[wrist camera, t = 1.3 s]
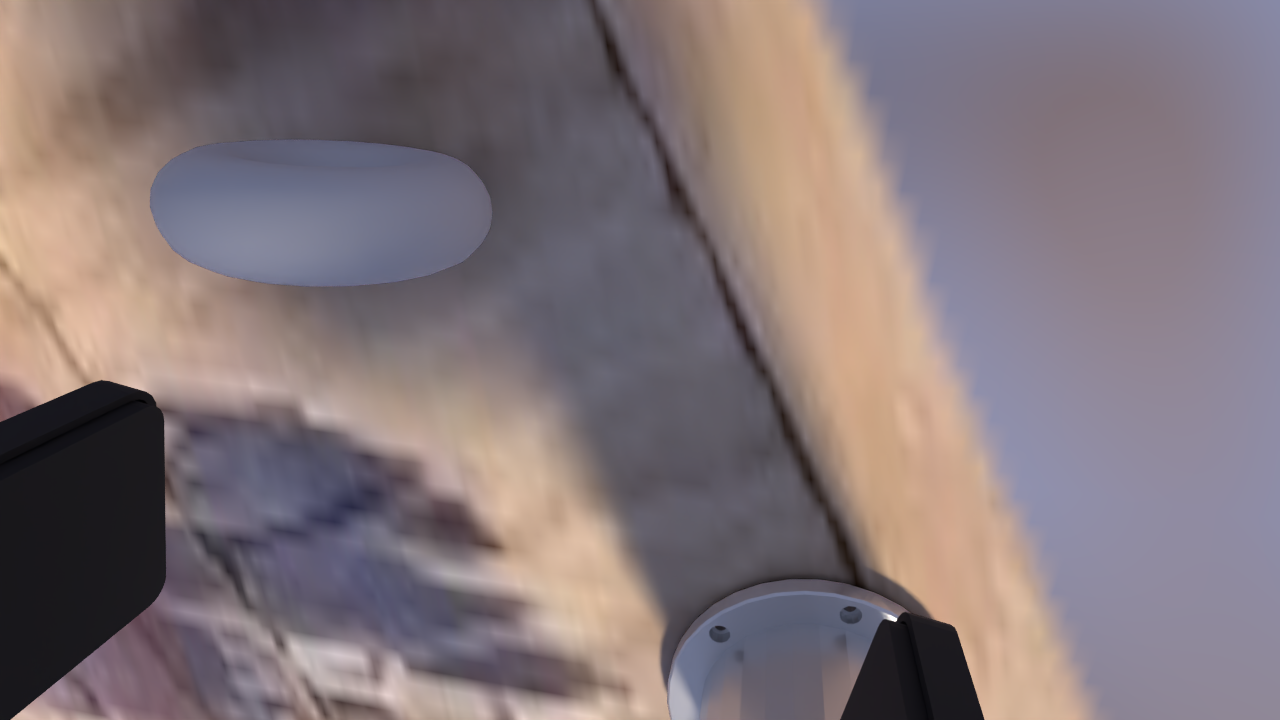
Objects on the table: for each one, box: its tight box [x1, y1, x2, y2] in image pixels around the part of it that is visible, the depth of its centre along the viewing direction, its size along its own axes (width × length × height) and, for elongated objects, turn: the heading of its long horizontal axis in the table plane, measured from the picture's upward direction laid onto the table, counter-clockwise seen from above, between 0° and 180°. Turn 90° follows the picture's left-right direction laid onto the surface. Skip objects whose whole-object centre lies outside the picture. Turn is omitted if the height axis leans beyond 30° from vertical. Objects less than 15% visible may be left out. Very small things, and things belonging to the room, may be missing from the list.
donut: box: [150, 139, 493, 287], centre depth 25 cm, size 10×4×10 cm, turn 86°
